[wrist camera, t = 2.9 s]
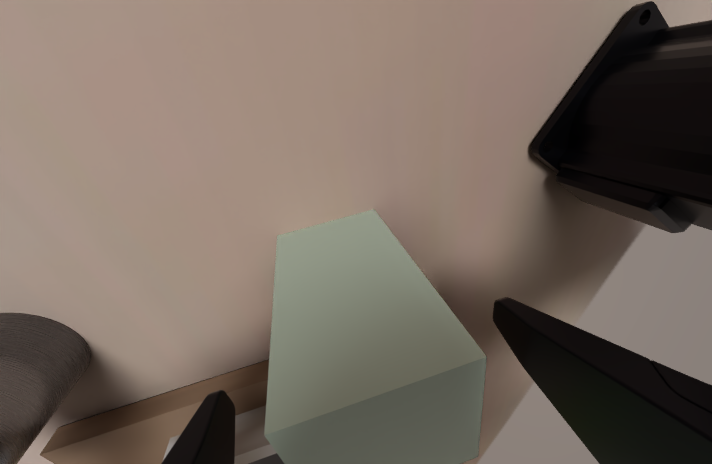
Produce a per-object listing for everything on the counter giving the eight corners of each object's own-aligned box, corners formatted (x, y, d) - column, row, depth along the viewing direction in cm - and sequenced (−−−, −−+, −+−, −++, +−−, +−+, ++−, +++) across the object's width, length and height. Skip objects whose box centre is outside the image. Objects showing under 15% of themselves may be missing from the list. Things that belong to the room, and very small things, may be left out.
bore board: (388, 321, 16) (410, 369, 13) (406, 424, 22) (424, 472, 19) (58, 427, 14) (0, 511, 11) (176, 509, 20) (158, 577, 17)
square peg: (374, 209, 12) (487, 356, 5) (386, 283, 15) (477, 456, 8) (277, 235, 12) (264, 435, 5) (305, 308, 14) (323, 518, 7)
